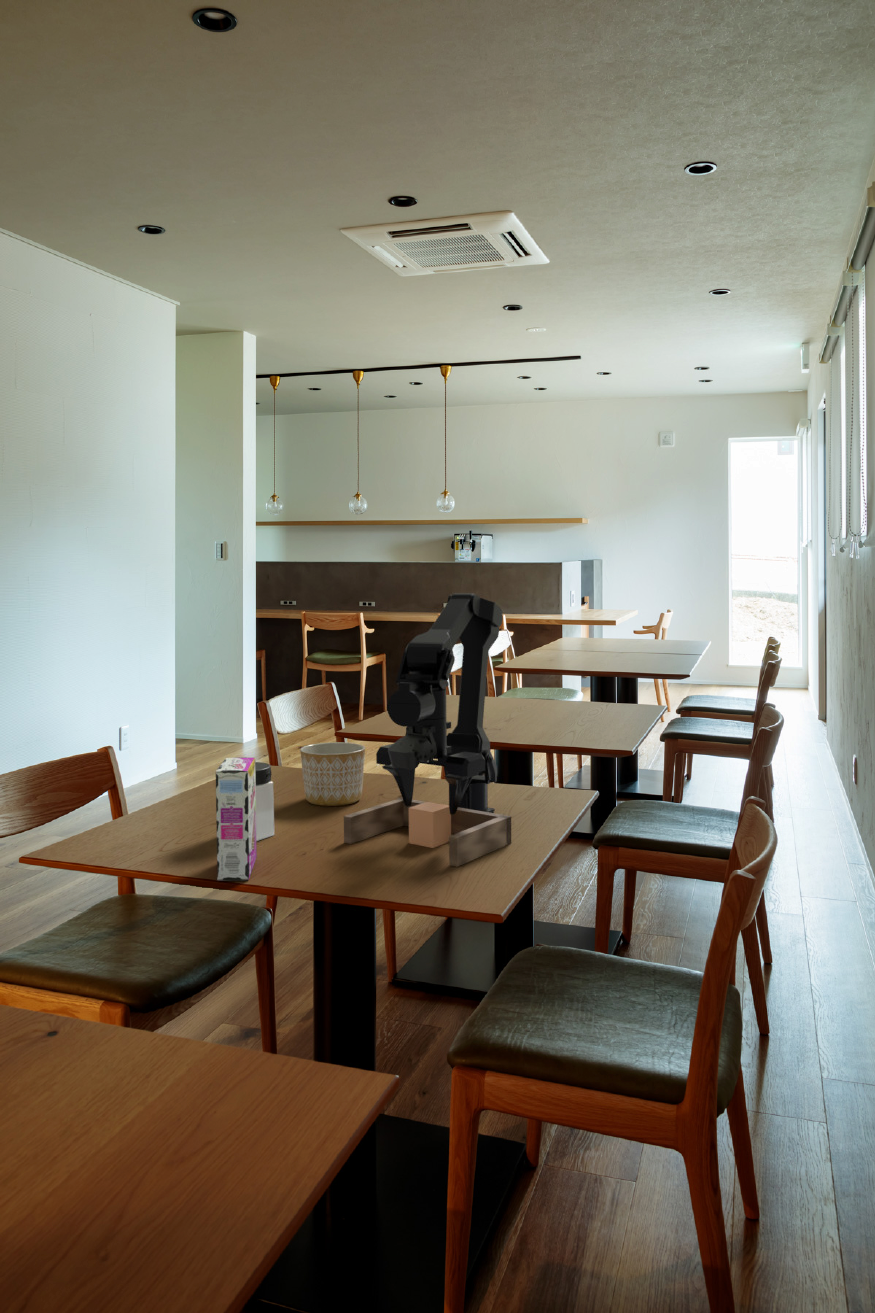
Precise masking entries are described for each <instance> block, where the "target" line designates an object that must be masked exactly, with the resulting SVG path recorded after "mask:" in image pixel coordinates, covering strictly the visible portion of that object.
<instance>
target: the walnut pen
mask: <svg viewBox="0 0 875 1313" xmlns="http://www.w3.org/2000/svg"><path fill="white" fill-rule="evenodd" d="M425 802H426V801H423V800H417V799H412V803H411V806H409V807H406V806H405V804H404V801H403V798H402V797H399V798H397V799H394V800H390V801H387V802H384V803H381V804H377V805H374V806H371V807H369V808H365V809H361V810H358V811H355V812H352V813H349V814H345V815H343V844H345V843H346V844H349V845H352V844H355V843H359V842H360V841H364V840H366V839H370V838H373V837H374V836H378V835H380V834H384V833H385V832H388V831H392V830H394V829H398V828H400V827H404V826H405V827H409V808H410V807H413V806H416V805H419V804H422V803H425ZM510 844H512V816H511V815H506V814H505V815H504V814H500V813H494V812H491V813H489V812H483V811H477V810H471V809H465V808H459V807H458V809H457V811H456V813H455V814H453V815H451V836H449V842H448V845H449V846H448V850H449V851H448V858H449V861H448V863H449V864H448V866H452V867H456V868H458V867H460V866H462V865H464V864H467V863H469V862H471V861H474V860H476V859H478V858H481V857H483V856H484V855H488V854H490V853H492V852H495V851H496V850H499V849H501V848H504V847H506V846H509V845H510Z"/></svg>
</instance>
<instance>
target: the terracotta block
mask: <svg viewBox="0 0 875 1313" xmlns="http://www.w3.org/2000/svg"><path fill="white" fill-rule="evenodd" d="M424 802H425V803H422V804H419V805H416V806H413V807H410V808H409V826H408V843H409V844H411V845H416V846H422V847H427V848H432V849H435V848H437V847H440V846H442V845H444V844H447V843H449V836H451V814H450V810H449V804H448V805H447V804H440V803H437V802H436V803H435V802H429V801H424Z"/></svg>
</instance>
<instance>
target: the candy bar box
mask: <svg viewBox="0 0 875 1313" xmlns="http://www.w3.org/2000/svg"><path fill="white" fill-rule="evenodd" d="M255 762H256V757H244V756H243V757H225V758H224V760H223V761H222V762H221V764H220V765H219V766H218V768H217V769H216V770H215V806H216V808H215V814H216V819H215V820H216V865H217V866H216V872H217V875H216V880H217V881H219V882H220V881H221V882H224V881H225V882H226V881H227V882H229V881H230V882H231V881H248V880H250V877H251V875H252V872H253V869H254V866H255V864H256V860H257V856H258V855H257V841H256V774H255Z"/></svg>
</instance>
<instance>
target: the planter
mask: <svg viewBox="0 0 875 1313" xmlns="http://www.w3.org/2000/svg"><path fill="white" fill-rule="evenodd" d="M299 753H300V760H301V761H300V762H301V769H302V777H303V786H304V796H305V798H306V801H307V802H308V803H310V804H313V805H316V806H321V807H340V806H347V805H351V804H355V803H357V802H358V801H359V800H361V798H362V796H363V795H362V794H363V783H364V771H365V770H364V769H365V768H364V766H365V758H366V757H365V756H366V747H365V746H364V745H362V744H358V743H354V742H353V743H352V742H337V741H336V742H320V743H313V744H312V743H311V744H308V745H304V746H301V748H300V749H299Z"/></svg>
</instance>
